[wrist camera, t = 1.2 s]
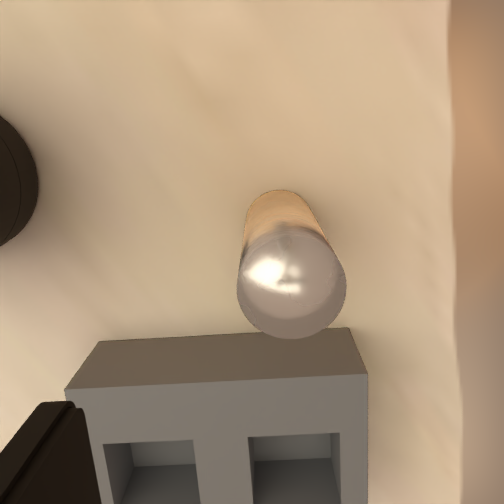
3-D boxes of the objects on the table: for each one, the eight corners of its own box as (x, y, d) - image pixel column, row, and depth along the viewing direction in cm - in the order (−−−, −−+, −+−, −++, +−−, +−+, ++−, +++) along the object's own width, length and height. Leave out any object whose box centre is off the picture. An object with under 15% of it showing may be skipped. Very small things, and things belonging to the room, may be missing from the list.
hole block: (98, 341, 30) (64, 389, 24) (348, 327, 29) (367, 373, 24) (125, 493, 33) (100, 564, 28) (350, 483, 33) (367, 553, 27)
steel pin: (243, 192, 27) (232, 240, 16) (311, 187, 27) (346, 232, 16) (248, 257, 28) (240, 342, 18) (314, 253, 28) (347, 336, 17)
